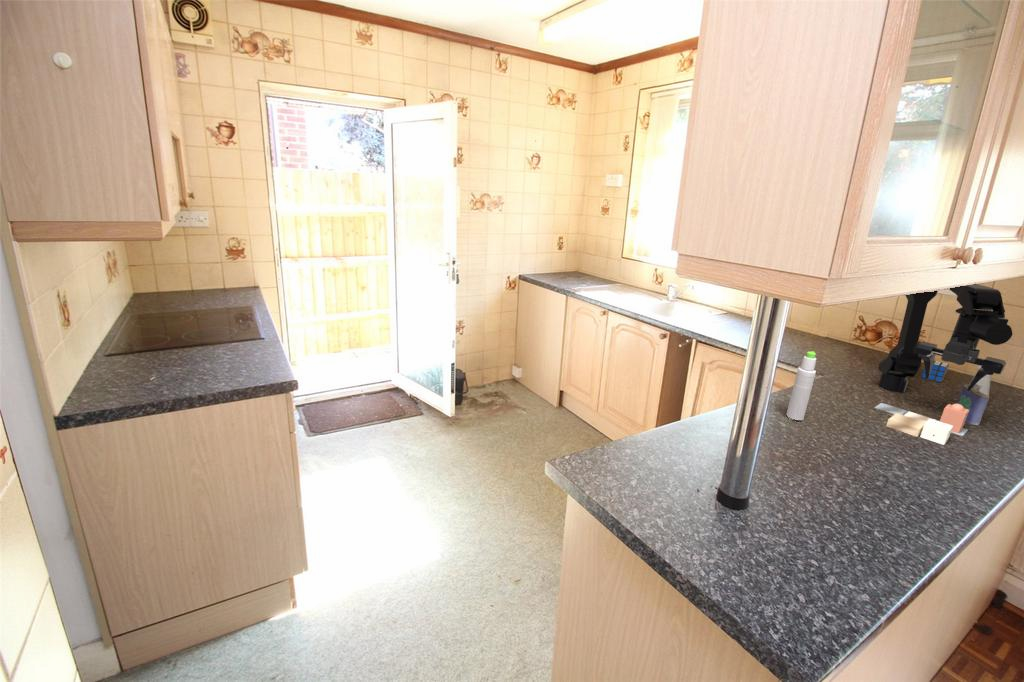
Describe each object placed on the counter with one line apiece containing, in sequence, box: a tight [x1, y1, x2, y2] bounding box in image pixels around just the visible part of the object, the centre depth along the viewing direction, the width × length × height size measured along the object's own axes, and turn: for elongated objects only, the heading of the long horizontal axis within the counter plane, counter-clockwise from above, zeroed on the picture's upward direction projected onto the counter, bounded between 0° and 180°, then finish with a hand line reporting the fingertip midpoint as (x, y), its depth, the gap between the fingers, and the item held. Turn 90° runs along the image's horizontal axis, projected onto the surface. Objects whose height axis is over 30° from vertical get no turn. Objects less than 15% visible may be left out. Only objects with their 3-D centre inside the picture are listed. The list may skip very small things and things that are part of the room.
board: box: [873, 402, 968, 437], centre depth 141 cm, size 21×9×1 cm, turn 38°
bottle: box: [785, 351, 817, 421], centre depth 134 cm, size 4×4×20 cm
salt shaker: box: [968, 365, 992, 397], centre depth 156 cm, size 6×6×13 cm
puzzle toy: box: [920, 360, 950, 383], centre depth 177 cm, size 6×6×6 cm
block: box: [886, 413, 926, 437], centre depth 133 cm, size 7×7×3 cm
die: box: [919, 418, 953, 446], centre depth 128 cm, size 5×5×5 cm
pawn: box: [939, 403, 969, 433], centre depth 134 cm, size 4×4×7 cm
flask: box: [955, 384, 991, 426], centre depth 141 cm, size 10×3×12 cm, turn 164°
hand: (947, 384), depth 137 cm, fingers open, 9 cm apart
